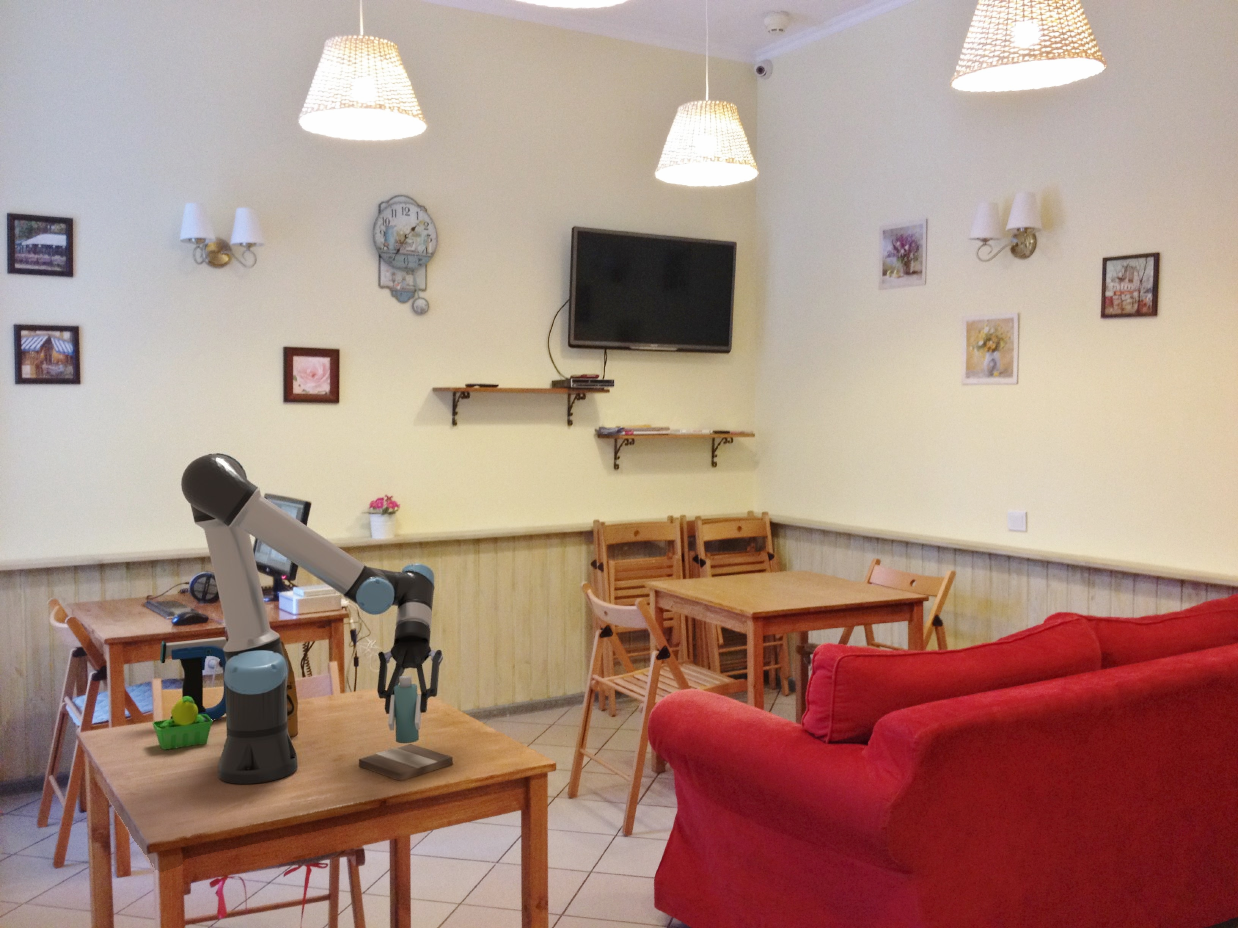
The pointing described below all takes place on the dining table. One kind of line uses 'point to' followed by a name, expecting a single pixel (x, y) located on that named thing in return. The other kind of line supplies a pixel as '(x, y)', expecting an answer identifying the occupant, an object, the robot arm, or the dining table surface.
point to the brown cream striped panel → (405, 762)
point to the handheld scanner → (197, 669)
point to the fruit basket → (183, 726)
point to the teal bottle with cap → (405, 710)
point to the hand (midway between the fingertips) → (404, 726)
